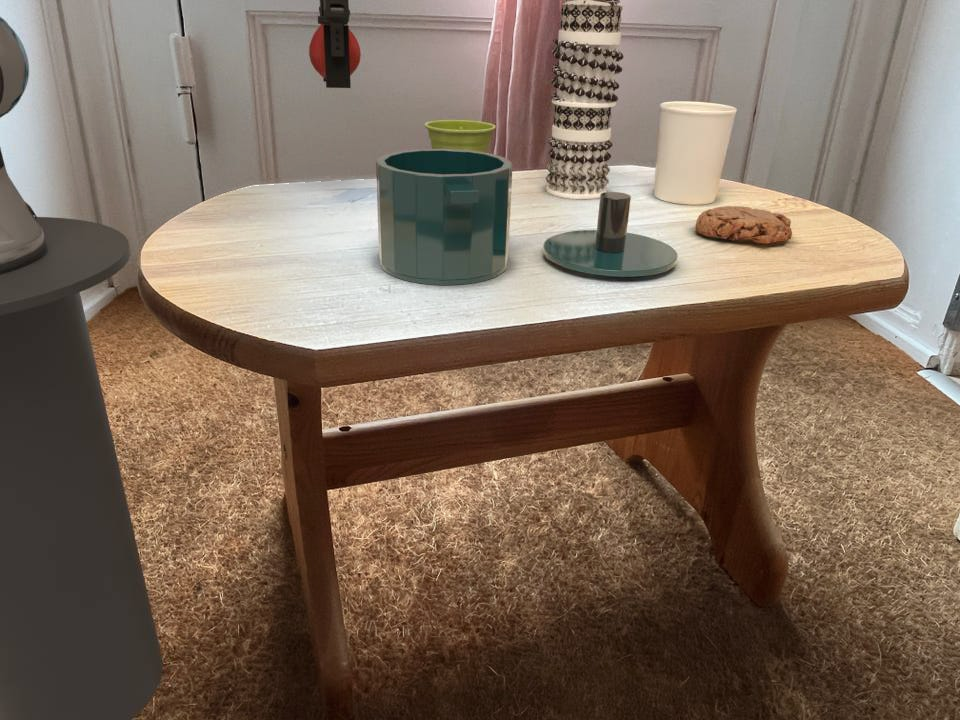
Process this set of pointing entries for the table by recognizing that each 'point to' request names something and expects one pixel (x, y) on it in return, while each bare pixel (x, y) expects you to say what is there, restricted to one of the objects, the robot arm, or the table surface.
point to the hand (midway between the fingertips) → (336, 84)
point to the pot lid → (610, 245)
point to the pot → (443, 215)
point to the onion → (319, 55)
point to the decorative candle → (584, 97)
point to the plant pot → (460, 134)
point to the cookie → (744, 224)
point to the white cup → (691, 150)
